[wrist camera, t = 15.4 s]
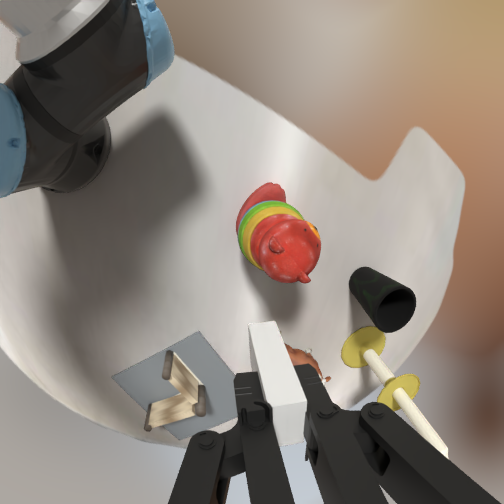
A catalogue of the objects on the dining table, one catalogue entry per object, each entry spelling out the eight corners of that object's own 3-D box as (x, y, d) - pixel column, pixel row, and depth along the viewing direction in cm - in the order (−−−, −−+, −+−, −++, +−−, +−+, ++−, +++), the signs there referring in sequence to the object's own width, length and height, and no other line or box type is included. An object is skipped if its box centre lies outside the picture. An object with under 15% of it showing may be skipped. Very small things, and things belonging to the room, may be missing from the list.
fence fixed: (163, 352, 53) (158, 377, 46) (171, 348, 52) (167, 373, 46) (199, 392, 56) (199, 418, 49) (207, 388, 56) (208, 414, 49)
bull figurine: (308, 372, 58) (320, 398, 51) (259, 339, 55) (266, 366, 47) (324, 357, 58) (338, 383, 50) (275, 322, 54) (286, 347, 46)
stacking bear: (311, 233, 50) (358, 270, 33) (259, 269, 51) (283, 323, 34) (274, 176, 47) (309, 187, 30) (219, 215, 48) (224, 247, 31)
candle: (367, 371, 61) (443, 483, 30) (331, 361, 58) (405, 491, 28) (393, 333, 59) (488, 437, 28) (358, 320, 56) (458, 440, 25)
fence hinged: (192, 389, 55) (191, 413, 49) (195, 394, 56) (195, 417, 49) (146, 404, 55) (142, 427, 49) (150, 408, 56) (146, 431, 49)
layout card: (112, 376, 53) (111, 377, 53) (198, 330, 53) (198, 332, 52) (179, 439, 60) (179, 440, 60) (260, 404, 59) (260, 406, 59)
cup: (385, 287, 55) (420, 316, 44) (351, 308, 55) (381, 341, 44) (373, 253, 53) (410, 277, 41) (337, 274, 53) (368, 304, 42)
